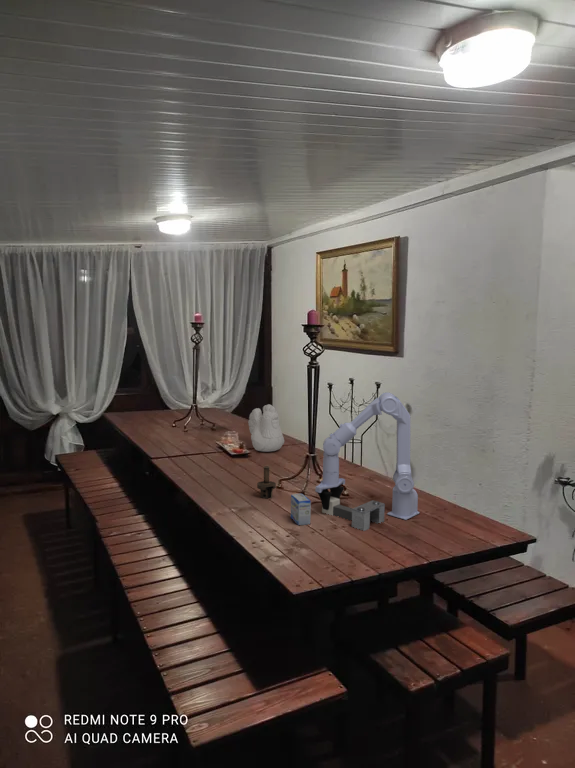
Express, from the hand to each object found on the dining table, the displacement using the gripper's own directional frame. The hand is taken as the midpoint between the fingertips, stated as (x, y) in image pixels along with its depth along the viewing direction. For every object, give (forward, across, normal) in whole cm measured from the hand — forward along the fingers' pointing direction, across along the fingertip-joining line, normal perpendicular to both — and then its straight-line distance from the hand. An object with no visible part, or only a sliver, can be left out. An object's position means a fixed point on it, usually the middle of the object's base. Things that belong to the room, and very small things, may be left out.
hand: (330, 507), depth 203 cm
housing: (+2, 0, +17) cm, 17 cm away
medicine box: (+2, +14, -2) cm, 14 cm away
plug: (+2, 0, +7) cm, 7 cm away
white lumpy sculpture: (+2, -50, -84) cm, 98 cm away
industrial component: (+2, +3, -30) cm, 30 cm away
